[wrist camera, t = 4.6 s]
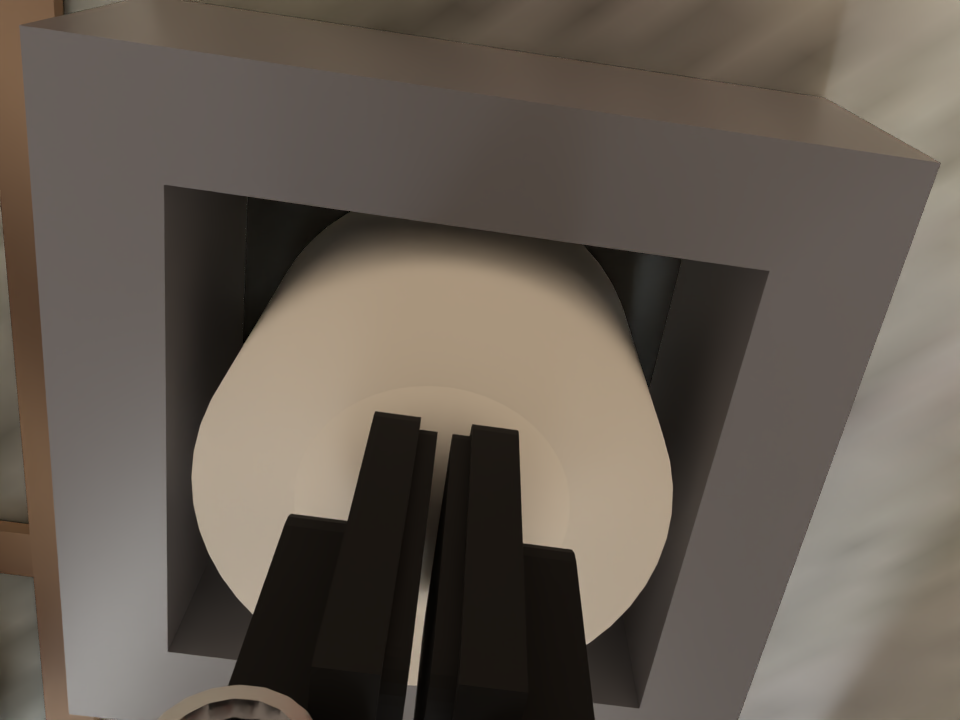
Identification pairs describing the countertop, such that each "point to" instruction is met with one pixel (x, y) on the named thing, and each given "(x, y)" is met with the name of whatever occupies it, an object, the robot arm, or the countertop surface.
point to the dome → (440, 400)
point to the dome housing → (456, 202)
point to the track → (29, 362)
